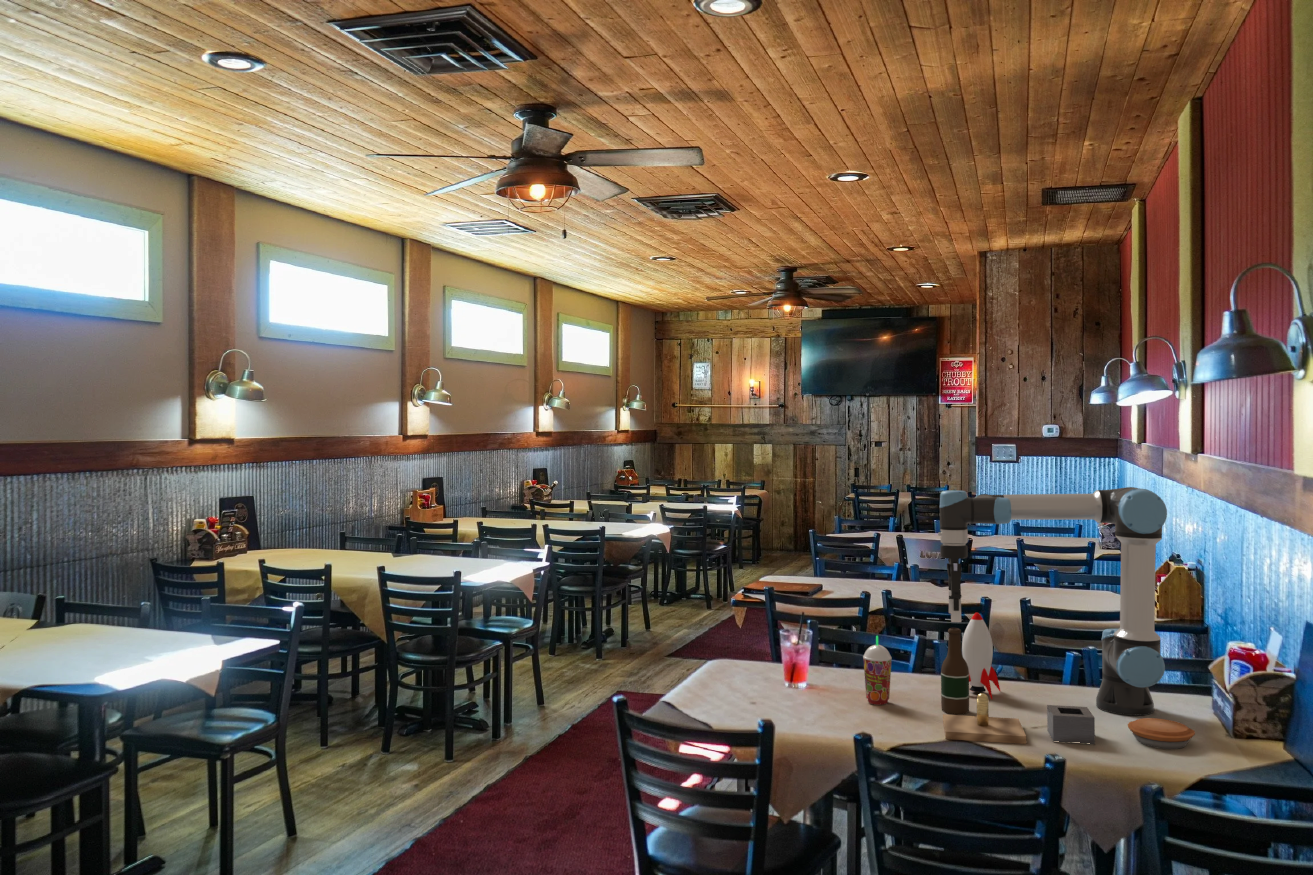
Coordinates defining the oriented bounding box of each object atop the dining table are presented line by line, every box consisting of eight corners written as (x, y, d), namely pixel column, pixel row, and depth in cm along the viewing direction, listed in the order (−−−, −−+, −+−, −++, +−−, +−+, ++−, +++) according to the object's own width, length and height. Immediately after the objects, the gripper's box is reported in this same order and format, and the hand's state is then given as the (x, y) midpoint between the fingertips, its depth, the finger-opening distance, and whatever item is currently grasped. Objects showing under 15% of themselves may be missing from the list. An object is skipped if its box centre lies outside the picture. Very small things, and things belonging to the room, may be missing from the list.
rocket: (1000, 691, 300) (999, 611, 300) (992, 699, 291) (991, 616, 291) (964, 686, 306) (963, 608, 306) (955, 694, 297) (954, 613, 297)
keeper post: (988, 723, 260) (987, 692, 260) (989, 726, 257) (988, 695, 257) (976, 722, 261) (976, 691, 261) (977, 726, 258) (977, 694, 258)
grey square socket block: (1087, 732, 258) (1087, 706, 258) (1094, 744, 248) (1094, 717, 248) (1047, 730, 260) (1047, 704, 260) (1053, 742, 250) (1053, 715, 250)
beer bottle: (970, 715, 275) (970, 631, 275) (942, 714, 276) (941, 630, 276) (967, 708, 282) (966, 626, 282) (940, 706, 284) (939, 625, 284)
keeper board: (1018, 725, 265) (1018, 718, 265) (1026, 743, 249) (1026, 736, 249) (942, 721, 269) (942, 714, 269) (945, 738, 254) (945, 731, 254)
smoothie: (861, 704, 287) (860, 637, 287) (866, 697, 295) (865, 632, 295) (889, 707, 284) (889, 639, 284) (894, 699, 292) (893, 634, 292)
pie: (1166, 755, 239) (1166, 735, 239) (1114, 737, 254) (1114, 719, 254) (1209, 746, 246) (1208, 727, 246) (1155, 730, 260) (1155, 711, 260)
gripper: (938, 539, 291) (939, 609, 291) (942, 548, 267) (943, 625, 267) (964, 539, 289) (965, 610, 289) (970, 549, 265) (971, 626, 265)
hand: (954, 617), depth 278 cm, fingers open, 13 cm apart
